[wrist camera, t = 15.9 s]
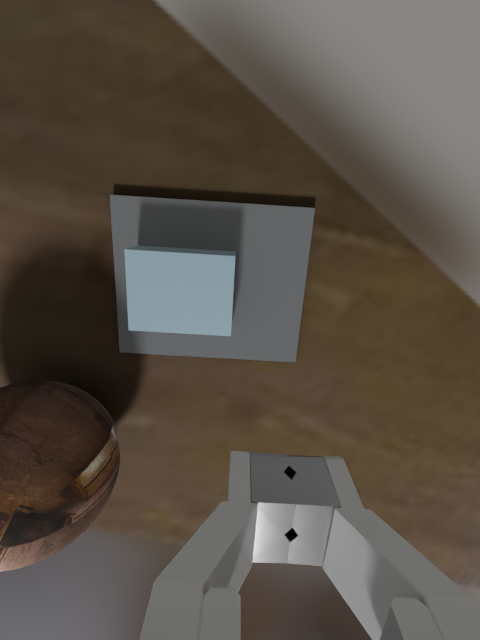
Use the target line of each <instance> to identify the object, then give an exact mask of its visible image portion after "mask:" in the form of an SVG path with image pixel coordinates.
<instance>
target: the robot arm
mask: <svg viewBox="0 0 480 640" xmlns="http://www.w3.org/2000/svg"><path fill="white" fill-rule="evenodd" d="M252 562H258V563H291V564H303V565H315V566H323V569H324V571H325V572H326V574H327V575H328V577H329V578H330V579H331V581H332V582H333V584H334V585H335V587H336V588H337V589H338V591H339V592H340V594H341V595H342V597H343V598H344V599H345V601H346V602H347V604H348V605H349V607H350V608H351V610H352V611H353V612H354V614H355V615H356V616H357V618H358V620H359V621H360V622H361V624H362V625H363V627H364V628H365V630H366V631H367V633H368V634H369V635H370V637H371V638H372V640H480V610H479V608H478V607H477V605H476V604H475V602H474V600H473V599H472V598H471V597H470V596H469V595H467V594H466V593H465V592H464V591H463V590H462V589H461V588H459V587H458V586H457V585H456V584H455V583H454V582H453V581H451V580H450V579H449V578H448V577H447V576H446V575H445V574H443V573H442V572H441V571H440V570H439V569H438V568H437V567H435V566H434V565H433V564H432V563H431V562H430V561H429V560H427V559H426V558H425V557H424V556H423V555H422V554H421V553H419V552H418V551H417V550H416V549H415V548H414V547H413V546H411V545H410V544H409V543H408V542H407V541H406V540H405V539H403V538H402V537H401V536H400V535H399V534H398V533H397V532H395V531H394V530H393V529H392V528H391V527H390V526H389V525H387V524H386V523H385V522H384V521H383V520H382V519H381V518H379V517H378V516H377V515H376V514H375V513H374V512H373V511H371V510H368V509H364V507H363V505H362V502H361V500H360V497H359V495H358V493H357V490H356V488H355V485H354V483H353V481H352V478H351V476H350V473H349V471H348V469H347V466H346V464H345V461H344V459H343V458H342V457H334V456H322V457H321V456H302V455H284V454H271V453H259V452H250V454H249V452H242V451H231V453H230V466H229V482H228V499H227V502H221V503H220V504H219V505H218V506H217V508H216V509H215V510H214V511H213V512H212V513H211V515H210V516H209V517H208V518H207V519H206V521H205V522H204V523H203V524H202V525H201V527H200V528H199V529H198V530H197V531H196V532H195V534H194V535H193V536H192V537H191V538H190V540H189V541H188V542H187V543H186V544H185V546H184V547H183V548H182V549H181V550H180V551H179V553H178V554H177V555H176V556H175V557H174V559H173V560H172V561H171V562H170V563H169V565H168V566H167V567H166V568H165V569H164V570H163V572H162V573H161V574H160V575H159V576H158V578H157V579H156V580H155V581H154V584H153V588H152V592H151V596H150V600H149V604H148V609H147V612H146V616H145V621H144V624H143V628H142V632H141V636H140V640H241V639H240V638H241V636H240V635H241V632H240V631H241V630H240V629H241V624H240V623H241V616H240V615H241V609H240V608H241V606H240V605H241V599H240V598H241V597H240V595H239V594H238V591H239V589H240V587H241V585H242V583H243V581H244V579H245V578H246V576H247V574H248V572H249V570H250V568H251V566H252Z"/></svg>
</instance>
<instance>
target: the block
mask: <svg viewBox="0 0 480 640" xmlns="http://www.w3.org/2000/svg"><path fill="white" fill-rule="evenodd" d="M124 252H125V271H126V290H127V310H128V329H129V330H130V331H147V332H165V333H182V334H200V335H217V336H231V329H232V313H233V296H234V278H235V260H236V251H220V250H203V249H187V248H171V247H155V246H139V245H137V246H134V247H131V248H127V249H124Z"/></svg>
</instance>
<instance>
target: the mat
mask: <svg viewBox="0 0 480 640" xmlns="http://www.w3.org/2000/svg"><path fill="white" fill-rule="evenodd" d="M110 206H111V222H112V239H113V255H114V271H115V287H116V303H117V319H118V335H119V351H120V352H121V353H139V354H157V355H175V356H193V357H211V358H228V359H246V360H264V361H282V362H296V354H297V346H298V338H299V330H300V323H301V315H302V307H303V299H304V291H305V283H306V275H307V268H308V260H309V252H310V244H311V236H312V228H313V220H314V213H315V208H307V207H292V206H277V205H261V204H246V203H230V202H215V201H200V200H184V199H169V198H154V197H138V196H123V195H110ZM137 245H139V246H155V247H171V248H187V249H203V250H220V251H236V260H235V278H234V296H233V313H232V329H231V336H217V335H200V334H182V333H165V332H147V331H130V330H129V329H128V310H127V290H126V271H125V252H124V249H127V248H131V247H134V246H137Z"/></svg>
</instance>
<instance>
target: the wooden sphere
mask: <svg viewBox="0 0 480 640" xmlns="http://www.w3.org/2000/svg"><path fill="white" fill-rule="evenodd" d="M119 464H120V443H119V437H118V433H117V430H116V427H115V424H114V422H113V420H112V418H111V416H110V415H109V413H108V412H107V410H106V409H105V408H104V407H103V405H102V404H101V403H100V402H99V401H98V400H96V399H95V398H94V397H93V396H91V395H90V394H88V393H87V392H85V391H83V390H81V389H79V388H77V387H74V386H72V385H68V384H65V383H60V382H54V381H27V382H20V383H16V384H11V385H8V386H4V387H1V388H0V571H8V570H13V569H18V568H22V567H25V566H29V565H32V564H34V563H37V562H39V561H41V560H44V559H46V558H48V557H50V556H52V555H53V554H55V553H57V552H58V551H60V550H62V549H63V548H64V547H66V546H67V545H69V544H70V543H71V542H73V541H74V540H75V539H76V538H77V537H79V536H80V534H82V533H83V532H84V531H85V530H86V529H87V528H88V527H89V526H90V525H91V523H92V522H93V521H94V520H95V519H96V517H97V516H98V515H99V513H100V512H101V510H102V509H103V507H104V506H105V504H106V502H107V500H108V498H109V496H110V494H111V492H112V490H113V487H114V485H115V482H116V479H117V475H118V470H119Z"/></svg>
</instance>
